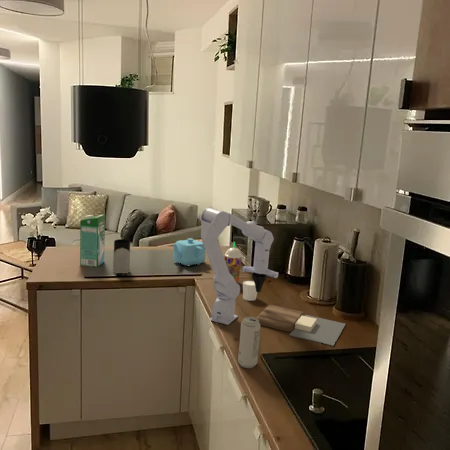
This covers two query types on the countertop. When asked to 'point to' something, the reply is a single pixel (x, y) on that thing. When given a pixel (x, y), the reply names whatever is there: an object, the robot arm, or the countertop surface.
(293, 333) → the mat
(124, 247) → the holder
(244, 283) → the white cup
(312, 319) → the cream rectangular block
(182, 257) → the teapot
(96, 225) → the milk carton
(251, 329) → the energy drink can
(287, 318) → the wooden cutting board
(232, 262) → the smoothie
